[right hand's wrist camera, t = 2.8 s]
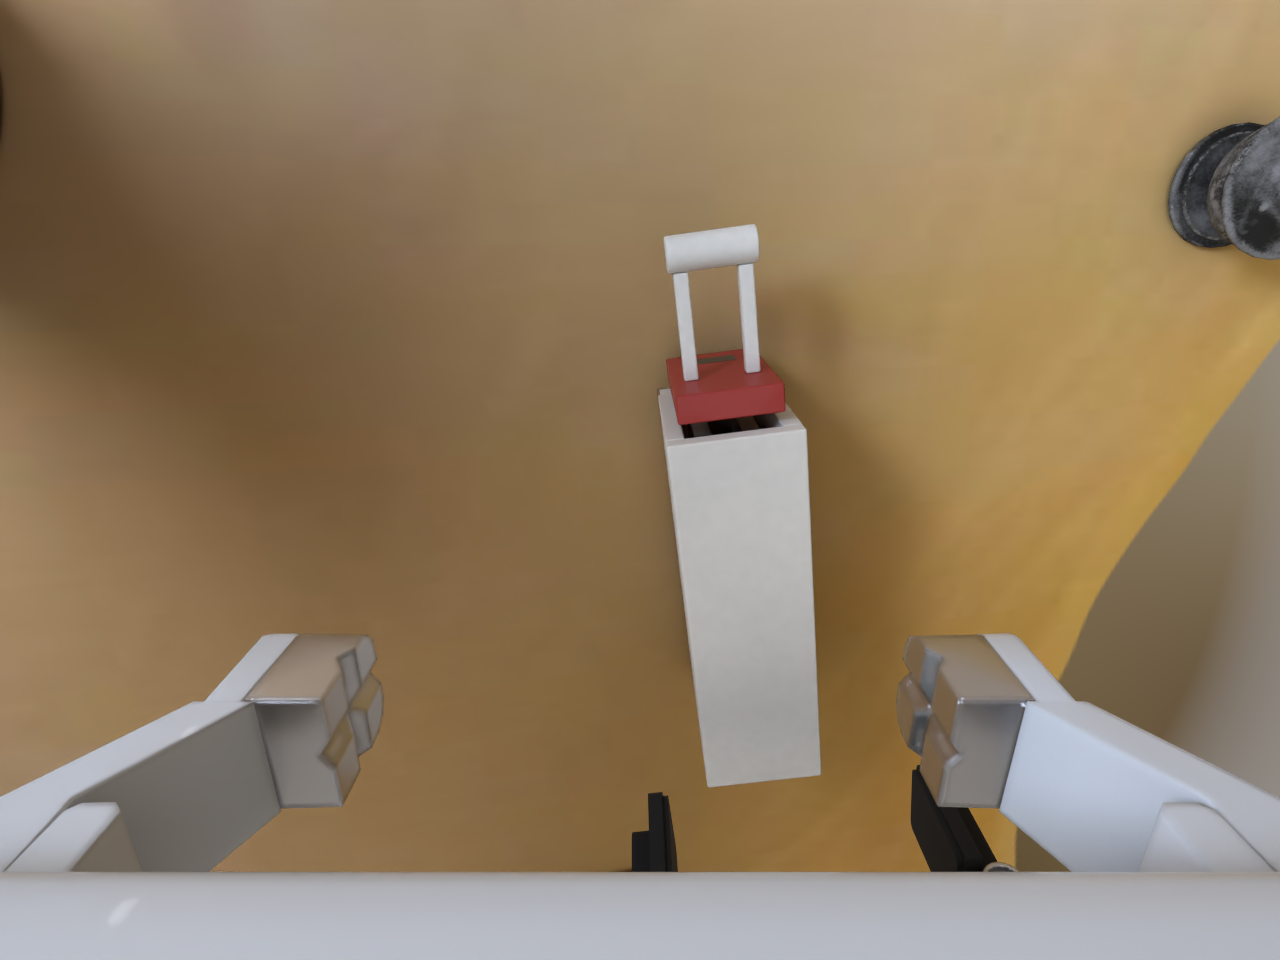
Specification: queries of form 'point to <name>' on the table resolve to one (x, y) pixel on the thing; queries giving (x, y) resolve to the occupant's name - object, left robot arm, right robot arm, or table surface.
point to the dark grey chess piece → (1231, 190)
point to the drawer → (724, 381)
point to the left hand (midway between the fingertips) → (790, 806)
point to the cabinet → (747, 594)
